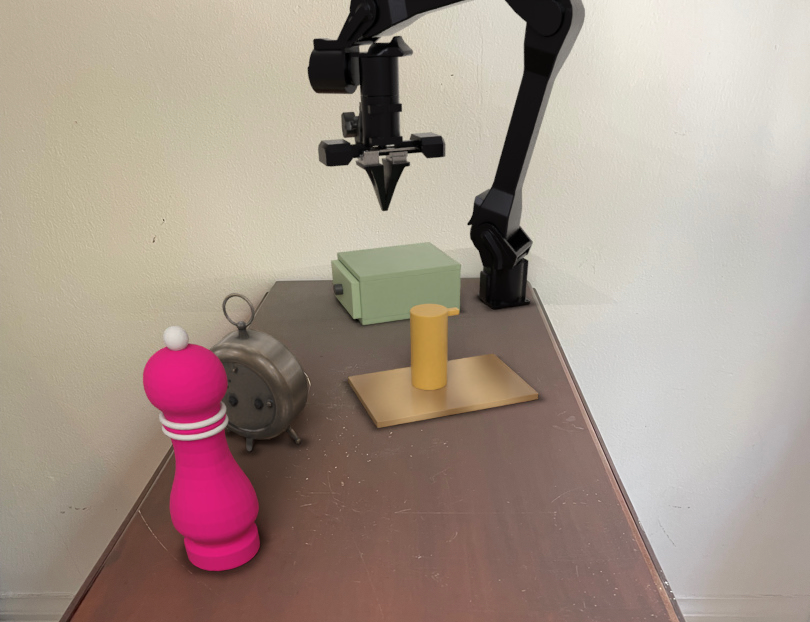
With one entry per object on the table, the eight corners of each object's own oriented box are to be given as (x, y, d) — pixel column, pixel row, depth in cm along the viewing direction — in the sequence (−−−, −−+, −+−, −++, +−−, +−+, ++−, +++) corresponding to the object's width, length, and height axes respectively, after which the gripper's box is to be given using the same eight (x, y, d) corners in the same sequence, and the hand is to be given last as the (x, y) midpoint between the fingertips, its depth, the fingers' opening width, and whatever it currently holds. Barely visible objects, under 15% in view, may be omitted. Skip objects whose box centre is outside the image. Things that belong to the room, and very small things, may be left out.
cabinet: (362, 325, 104) (359, 276, 100) (340, 297, 114) (336, 252, 110) (459, 311, 108) (461, 264, 104) (429, 285, 118) (429, 241, 114)
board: (493, 358, 93) (493, 353, 92) (538, 399, 83) (538, 393, 83) (348, 382, 88) (347, 376, 88) (377, 428, 78) (377, 421, 78)
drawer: (345, 320, 103) (343, 283, 100) (326, 295, 113) (323, 261, 110) (444, 306, 107) (445, 271, 104) (418, 283, 117) (417, 250, 113)
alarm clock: (315, 438, 77) (298, 289, 67) (294, 462, 73) (272, 307, 63) (229, 424, 80) (200, 280, 70) (203, 447, 76) (169, 297, 66)
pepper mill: (247, 580, 58) (198, 348, 46) (167, 570, 59) (99, 342, 47) (277, 529, 63) (240, 311, 51) (203, 521, 65) (150, 306, 53)
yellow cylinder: (449, 371, 88) (451, 300, 83) (463, 385, 85) (465, 311, 79) (406, 378, 87) (404, 306, 81) (418, 392, 83) (417, 318, 78)
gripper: (421, 87, 110) (422, 195, 119) (305, 93, 105) (316, 205, 115) (447, 92, 101) (446, 209, 111) (322, 100, 97) (331, 220, 106)
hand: (384, 210), depth 111 cm, fingers closed
